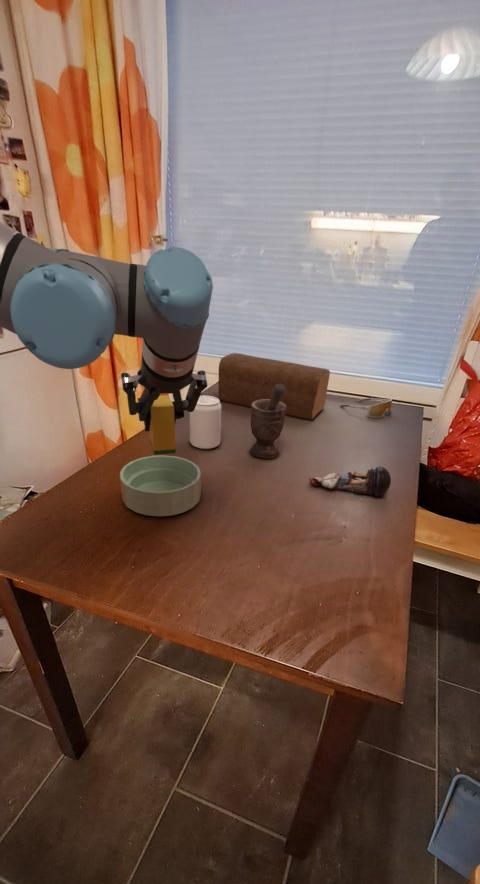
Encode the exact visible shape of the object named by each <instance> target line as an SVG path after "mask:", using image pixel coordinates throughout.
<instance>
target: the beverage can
mask: <svg viewBox="0 0 480 884" xmlns="http://www.w3.org/2000/svg"><path fill="white" fill-rule="evenodd" d="M221 428H222V404H221V400H219V399H218V397H216V396H213V395H200V397H199V400H198V402H197V404H196V407H195V409H194V411H193V412H189V443H190V444H191V446H193V447H195V448H197V449H201V450H210V449H211V450H212V449H214V448H217V447H218V446H220V444H221V431H222V429H221Z"/></svg>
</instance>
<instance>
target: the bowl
mask: <svg viewBox="0 0 480 884" xmlns="http://www.w3.org/2000/svg"><path fill="white" fill-rule="evenodd" d="M201 476H202V473H201V469H200V467H199V466H198V465H197V464H196V463H194V462H193V461H191V460H189V459H186V458H183V457H180V456H176V455H167V454H159V455H149V456H144V457H139V458H137V459H134V460H132V461H129V462H128V463H127V464H125V465H124V466H123V467H122V468H121V470H120V472H119V479H120V480H119V481H120V488H121V489H120V490H121V497H122V502H123V503H124V505H125V506H126V508H128V509H129V510H131V511H133V512H134V513H137V514H140V515H143V516H149V517H150V516H151V517H160V518H161V517H171V516H175V515H179V514H182V513H185V512H187V511H189V510H191V509H193V508H194V507H196V506H197V505H198V503H199V502H200V499H201V497H202V496H201V494H202V493H201V491H202V490H201V489H202V487H201V486H202V485H201V481H202V479H201V478H202V477H201Z"/></svg>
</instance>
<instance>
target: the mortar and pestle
mask: <svg viewBox="0 0 480 884" xmlns="http://www.w3.org/2000/svg"><path fill="white" fill-rule="evenodd" d="M284 393H285V387H284V385H282V384H276V385H275V387H274V388H273V391H272V394H271V398H270V399H260V400H256V401H254V402H253V403H252V405H251V407H250V429H251V433H252V436H253V437H254V438H255V440H256V442H255V443H253V445H252V446H251V448H250V452H249V453H250V454H251V455H252V456H253V457H256V458H260V459H265V460H272V459H275V458H277V457H278V455H279V448H278V446H277V445H276V444H275V441H276V440H277V439H278V438H280V436H281V434H282V432H283V429H284V425H285V418H286V415H285V413H286V405H285V404H284V403H282V402H280V401H281V399H282V397H283V395H284Z"/></svg>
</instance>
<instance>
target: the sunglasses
mask: <svg viewBox="0 0 480 884" xmlns="http://www.w3.org/2000/svg"><path fill="white" fill-rule="evenodd" d="M365 401H380V402H378V403H376V404H372V405H365V406H364V405H352V404H341V405H340V407H341V408H351V409H361V410H362V411H363V410H367V417H368V418H372V419H373V418H374V419H379V418H382V417H383V416H385V415H386V416H388V415H389V412H390V410H391V408H392V404H393V399H392V398H390V399H387V398H375V397H366V398H361V399H358V400H357V403H359V402H360V403H361V402H365ZM381 401H382V402H381Z"/></svg>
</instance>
